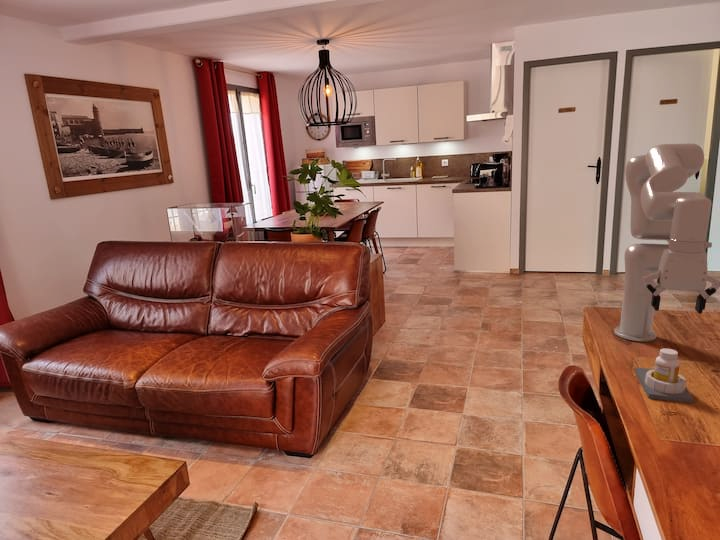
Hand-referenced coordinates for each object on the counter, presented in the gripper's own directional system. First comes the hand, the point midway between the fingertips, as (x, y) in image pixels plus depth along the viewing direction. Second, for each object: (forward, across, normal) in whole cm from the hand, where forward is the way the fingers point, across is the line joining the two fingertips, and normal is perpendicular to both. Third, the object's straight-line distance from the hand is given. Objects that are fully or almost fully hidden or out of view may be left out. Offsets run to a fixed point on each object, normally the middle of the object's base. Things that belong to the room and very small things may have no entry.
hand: (676, 310), depth 126 cm
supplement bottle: (+20, +1, +4) cm, 20 cm away
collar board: (+21, +1, +2) cm, 21 cm away
